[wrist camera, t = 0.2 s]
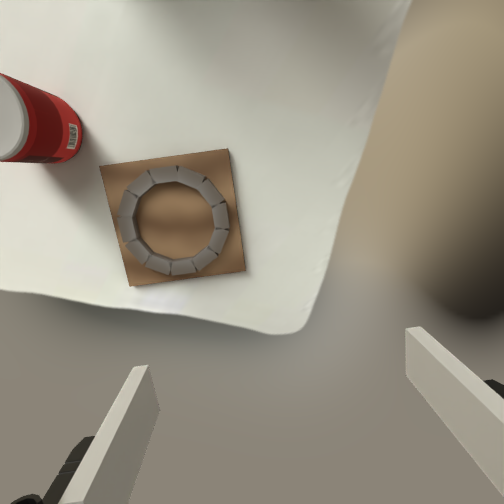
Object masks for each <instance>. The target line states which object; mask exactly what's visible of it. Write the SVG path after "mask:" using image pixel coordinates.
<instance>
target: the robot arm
mask: <svg viewBox="0 0 504 504" xmlns="http://www.w3.org/2000/svg"><path fill="white" fill-rule="evenodd" d="M405 332H406V333H405V337H406V338H405V340H406V376H407V377H408V379H409V380H410V381H411V382H412V384H413V385H414V386H415V387H416V389H418V391H419V392H420V394H421V395H422V396H423V397H424V399H425V400H426V401H427V402H428V403H429V405H430V406H431V407H432V408H433V410H434V411H435V412H436V413H437V415H438V416H439V417H440V418H441V419H442V421H443V422H444V423H445V425H446V426H447V427H448V428H449V430H450V431H451V432H452V433H453V435H454V436H455V437H456V438H457V440H458V441H459V442H460V443H461V445H462V446H463V447H464V448H465V450H466V451H467V452H468V453H469V455H470V456H471V457H472V458H473V460H474V461H475V462H476V463H477V465H478V466H479V467H480V468H481V470H482V471H483V472H484V473H485V475H486V476H487V477H488V478H489V480H490V481H491V482H492V483H493V485H494V486H495V487H496V488H497V490H498V491H499V492H500V493H501V494H502V496H503V497H504V385H502V384H500V383H498V382H497V381H495V380H486V381H482V380H481V379H480V378H479V377H478V376H477V375H475V374H474V373H473V372H472V371H471V370H470V369H469V368H467V367H466V366H465V365H464V364H463V363H462V362H460V361H459V360H458V359H457V358H456V357H454V355H452V354H451V353H450V352H449V351H448V350H447V349H446V348H444V347H443V346H442V345H441V344H440V343H439V342H437V341H436V340H435V339H434V338H433V337H432V336H431V335H430V334H428V333H427V332H426V331H425V330H424V329H423V328H422V327H413V328H407V329H405ZM159 411H160V408H159V404H158V400H157V396H156V392H155V388H154V384H153V381H152V377H151V373H150V369H149V366H148V365H145V366H137V367H133V369H132V371H131V372H130V374H129V376H128V378H127V380H126V381H125V383H124V385H123V387H122V389H121V391H120V392H119V394H118V396H117V398H116V400H115V401H114V403H113V405H112V407H111V409H110V410H109V412H108V414H107V416H106V418H105V420H104V421H103V423H102V425H101V427H100V429H99V430H98V433H97V434H96V436H91V437H85V438H84V439H83V440H82V441H81V442H80V443H79V444H78V445H77V446H76V447H75V448H74V449H73V450H72V452H71V453H70V455H69V457H68V458H67V460H66V462H65V464H64V465H63V467H62V468H61V470H60V471H59V475H57V477H56V478H55V480H54V481H53V483H52V485H51V486H50V488H49V490H48V491H47V493H46V494H45V496H44V498H43V499H41V498H40V496H39V495H35V494H31V495H26V496H23V497H21V498H19V499H17V500H15V501H13V502H12V503H11V504H128V502H129V499H130V496H131V493H132V490H133V487H134V485H135V481H136V479H137V476H138V473H139V470H140V467H141V464H142V461H143V458H144V455H145V452H146V449H147V446H148V444H149V441H150V437H151V434H152V432H153V429H154V426H155V423H156V420H157V417H158V414H159Z"/></svg>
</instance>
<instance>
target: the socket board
mask: <svg viewBox="0 0 504 504" xmlns="http://www.w3.org/2000/svg"><path fill="white" fill-rule="evenodd" d="M99 167H100V171H101V175H102V179H103V183H104V187H105V191H106V195H107V199H108V203H109V207H110V211H111V215H112V219H113V223H114V227H115V231H116V234H117V238H118V242H119V246H120V250H121V254H122V258H123V262H124V266H125V270H126V274H127V278H128V282H129V286H138V285H145V284H152V283H160V282H167V281H174V280H182V279H189V278H196V277H204V276H211V275H218V274H226V273H233V272H240V271H246V270H245V262H244V255H243V248H242V241H241V234H240V227H239V220H238V213H237V206H236V200H235V193H234V186H233V179H232V172H231V165H230V158H229V151H228V149H220V150H213V151H206V152H199V153H191V154H184V155H177V156H170V157H162V158H155V159H148V160H140V161H133V162H126V163H119V164H111V165H104V166H99Z"/></svg>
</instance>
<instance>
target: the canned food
mask: <svg viewBox="0 0 504 504" xmlns="http://www.w3.org/2000/svg"><path fill="white" fill-rule="evenodd" d="M81 143H82V127H81V123H80V121H79V118H78V117H77V115H76V113H75V112H74V111H73V110H72V108H71V107H70V106H69V105H68V104H67V103H66V102H65V101H63V100H62V99H60V98H59V97H57V96H55V95H52V94H50V93H48V92H45V91H43V90H40V89H38V88H35V87H33V86H31V85H28V84H26V83H23V82H21V81H18V80H16V79H14V78H11V77H9V76H6V75H4V74H1V73H0V162H24V163H61V162H64V161H67V160H68V159H70V158H72V157H73V156H74V155H75V154H76V153H77V152H78V150H79V148H80V146H81Z"/></svg>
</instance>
